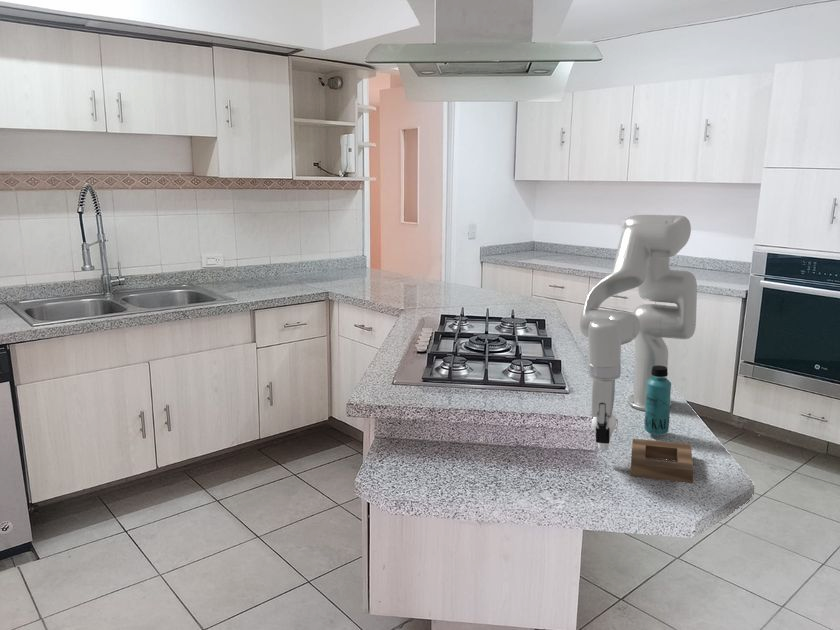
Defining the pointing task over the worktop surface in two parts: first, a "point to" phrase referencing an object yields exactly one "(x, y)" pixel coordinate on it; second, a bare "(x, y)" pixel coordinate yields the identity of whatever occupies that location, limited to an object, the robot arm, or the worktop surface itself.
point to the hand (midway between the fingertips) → (603, 436)
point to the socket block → (659, 468)
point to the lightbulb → (611, 425)
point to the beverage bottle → (658, 402)
